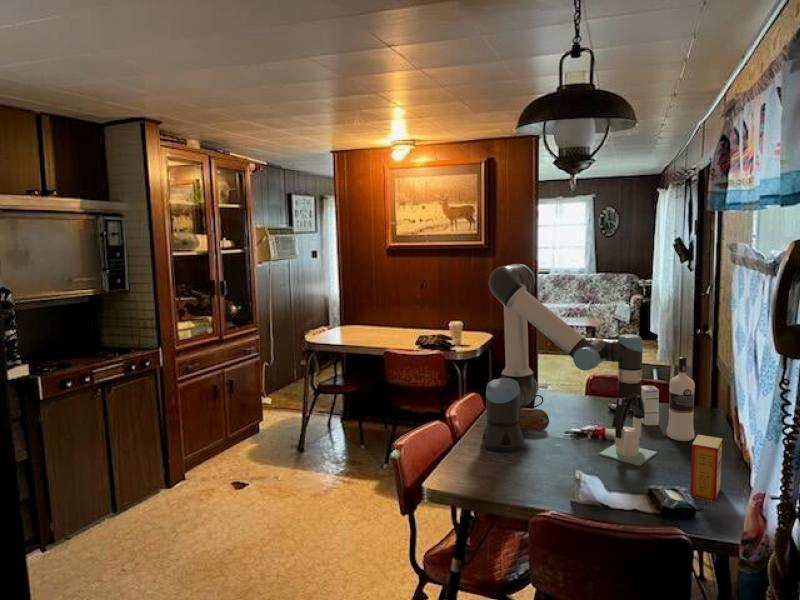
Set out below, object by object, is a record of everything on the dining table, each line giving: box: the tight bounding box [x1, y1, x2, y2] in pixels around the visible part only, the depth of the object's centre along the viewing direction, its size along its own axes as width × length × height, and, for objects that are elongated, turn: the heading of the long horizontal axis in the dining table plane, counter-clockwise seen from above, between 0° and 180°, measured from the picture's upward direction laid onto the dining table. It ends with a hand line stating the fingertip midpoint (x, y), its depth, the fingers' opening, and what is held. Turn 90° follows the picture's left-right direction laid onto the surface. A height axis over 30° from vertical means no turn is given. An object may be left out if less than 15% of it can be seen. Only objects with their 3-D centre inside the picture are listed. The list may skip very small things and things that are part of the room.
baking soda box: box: [689, 434, 724, 502], centre depth 169 cm, size 10×6×16 cm
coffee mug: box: [523, 394, 544, 409], centre depth 245 cm, size 12×9×10 cm
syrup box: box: [640, 385, 660, 426], centre depth 229 cm, size 6×6×14 cm
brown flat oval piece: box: [519, 408, 550, 432], centre depth 226 cm, size 15×3×8 cm, turn 76°
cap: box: [616, 426, 640, 456], centre depth 199 cm, size 7×7×8 cm
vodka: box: [666, 356, 696, 442], centre depth 212 cm, size 9×9×30 cm
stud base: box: [598, 443, 658, 467], centre depth 199 cm, size 14×14×6 cm
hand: (628, 441), depth 199 cm, fingers open, 13 cm apart
